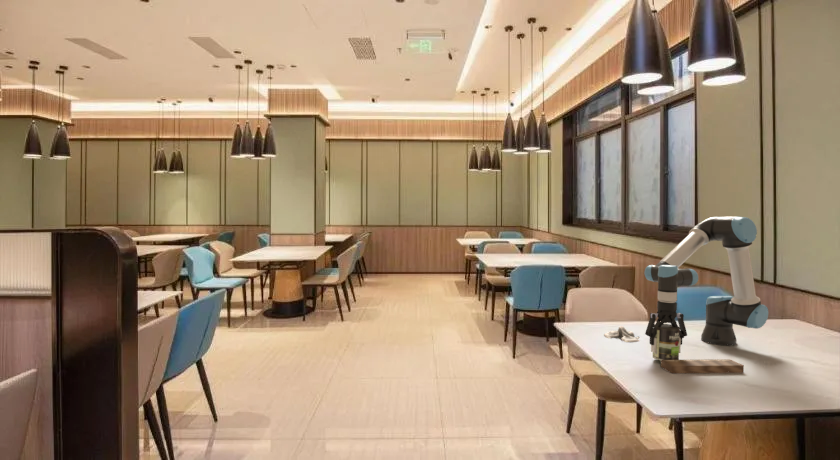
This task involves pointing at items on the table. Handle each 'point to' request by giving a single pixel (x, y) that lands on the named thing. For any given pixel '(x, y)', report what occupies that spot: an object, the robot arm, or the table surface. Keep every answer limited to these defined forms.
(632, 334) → the cloth
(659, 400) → the table surface
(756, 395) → the table surface
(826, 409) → the table surface
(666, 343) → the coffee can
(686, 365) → the walnut plank
